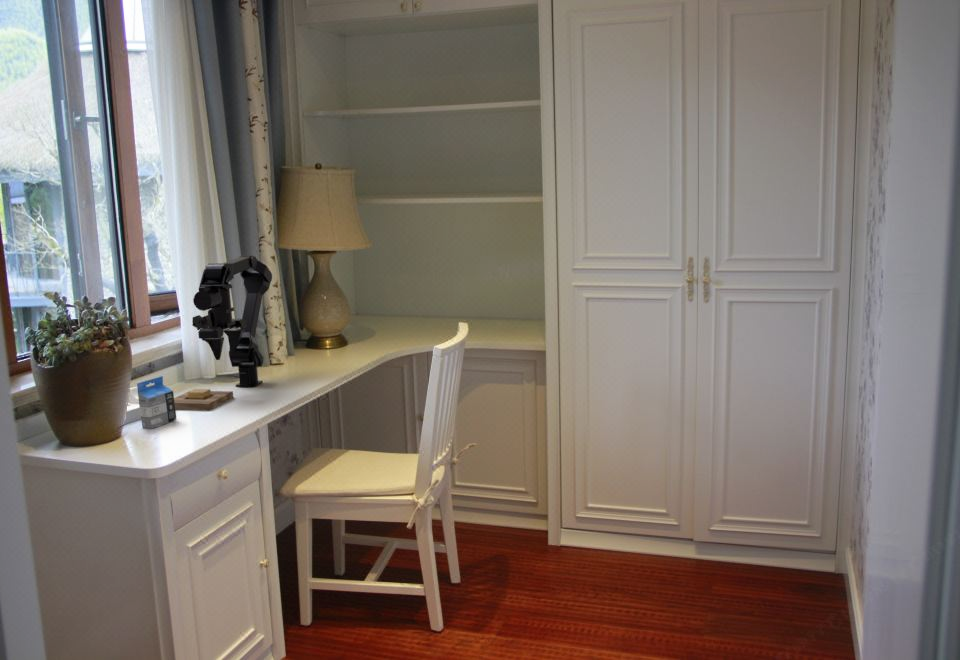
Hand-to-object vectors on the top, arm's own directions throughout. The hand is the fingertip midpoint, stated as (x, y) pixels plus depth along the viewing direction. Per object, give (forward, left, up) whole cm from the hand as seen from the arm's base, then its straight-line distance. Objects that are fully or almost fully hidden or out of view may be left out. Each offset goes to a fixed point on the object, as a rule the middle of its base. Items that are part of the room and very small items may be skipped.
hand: (225, 356), depth 260 cm
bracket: (+27, -16, -12) cm, 34 cm away
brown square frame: (+10, -4, -12) cm, 16 cm away
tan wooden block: (+10, -4, -12) cm, 16 cm away
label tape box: (+31, -4, -12) cm, 34 cm away
